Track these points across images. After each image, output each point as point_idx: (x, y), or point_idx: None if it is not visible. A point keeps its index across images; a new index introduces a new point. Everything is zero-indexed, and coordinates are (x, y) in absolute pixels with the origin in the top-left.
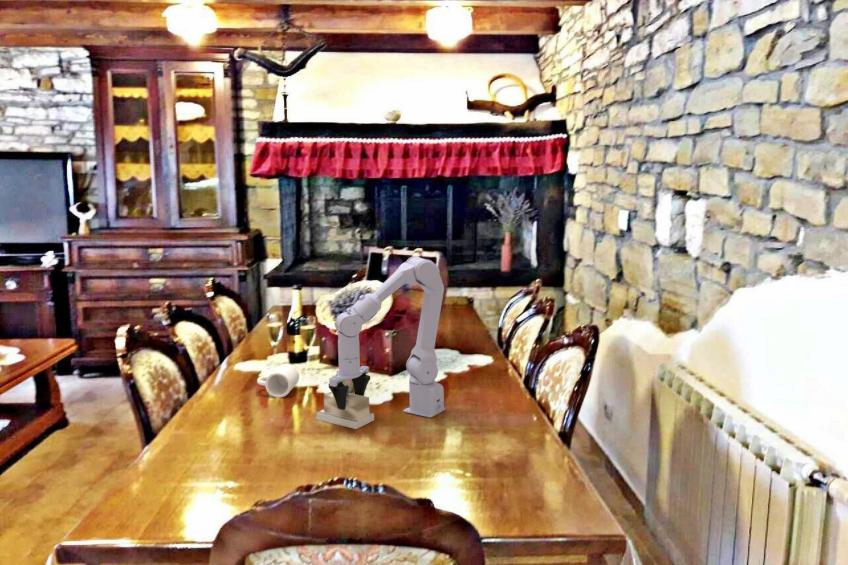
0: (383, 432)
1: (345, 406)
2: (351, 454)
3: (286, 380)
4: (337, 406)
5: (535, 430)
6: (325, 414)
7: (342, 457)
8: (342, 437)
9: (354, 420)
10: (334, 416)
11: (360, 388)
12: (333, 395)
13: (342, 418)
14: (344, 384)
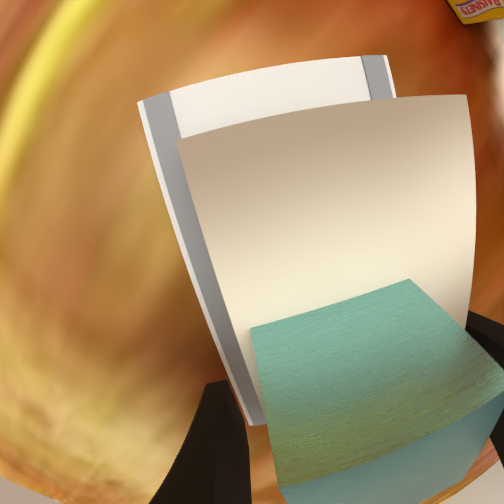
0: None
1: (245, 442)
2: (116, 487)
3: None
4: (201, 399)
5: (458, 488)
6: (170, 200)
7: (88, 482)
8: (142, 420)
9: (258, 414)
10: (201, 294)
11: (500, 418)
12: (253, 346)
13: (225, 355)
14: (464, 462)
